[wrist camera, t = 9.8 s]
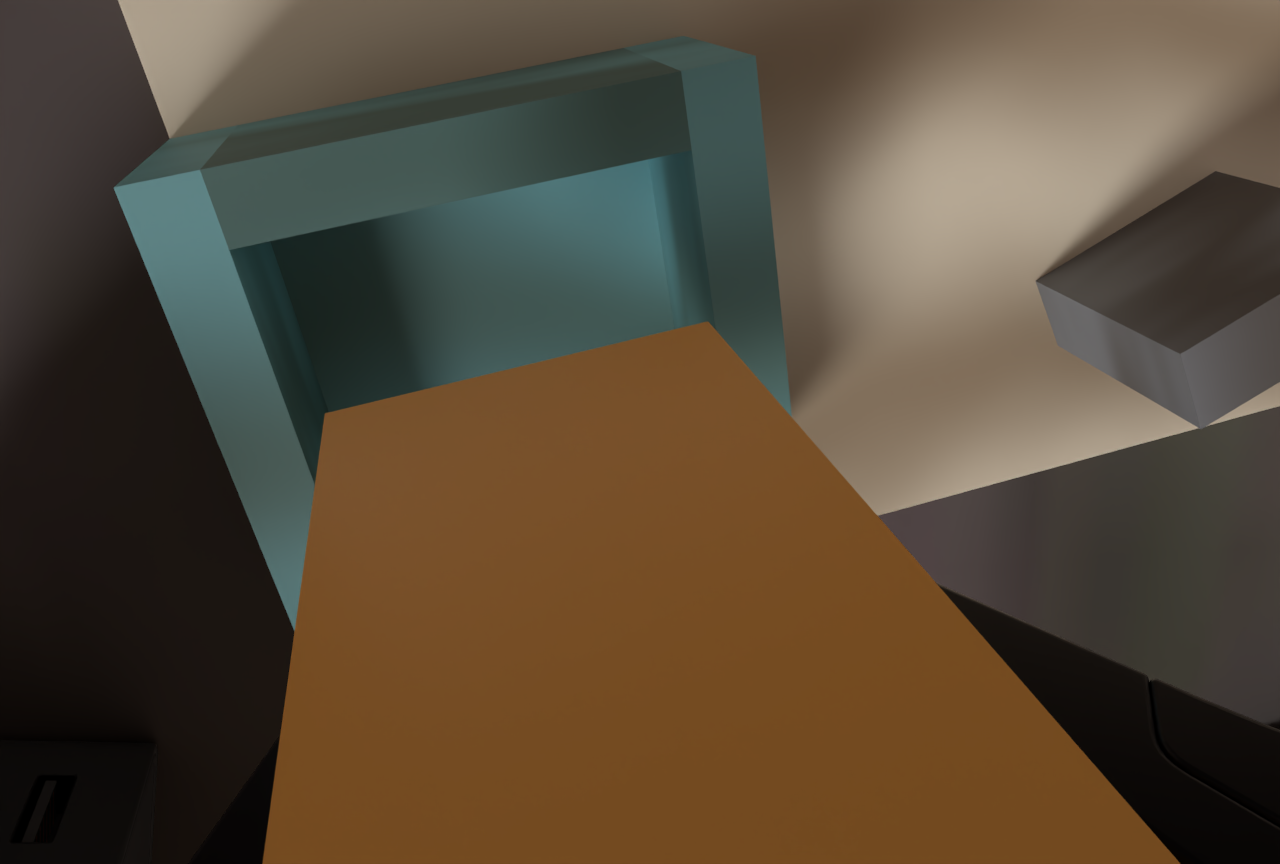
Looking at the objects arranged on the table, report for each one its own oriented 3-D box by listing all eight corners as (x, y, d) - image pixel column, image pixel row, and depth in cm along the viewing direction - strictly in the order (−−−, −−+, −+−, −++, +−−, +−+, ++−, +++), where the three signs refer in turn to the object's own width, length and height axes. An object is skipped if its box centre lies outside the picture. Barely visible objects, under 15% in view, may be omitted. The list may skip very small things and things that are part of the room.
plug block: (750, 622, 12) (1408, 1836, 4) (428, 712, 12) (510, 2276, 4) (707, 320, 10) (1719, 1483, 2) (324, 412, 10) (74, 2239, 2)
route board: (1596, 294, 24) (1865, 370, 20) (363, 625, 20) (357, 811, 16) (1889, -676, 16) (2441, -908, 12) (-26, -438, 12) (-248, -651, 8)
